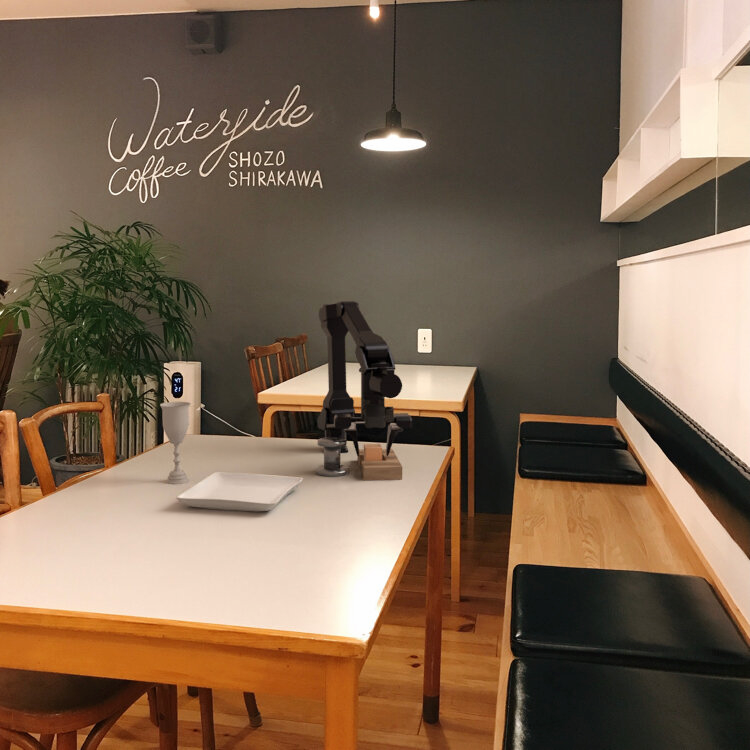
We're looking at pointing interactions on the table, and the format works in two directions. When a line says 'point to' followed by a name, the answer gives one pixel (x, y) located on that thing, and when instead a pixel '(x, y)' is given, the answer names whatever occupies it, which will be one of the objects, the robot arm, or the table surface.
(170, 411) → the chalice
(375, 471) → the notched board
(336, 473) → the bobbin
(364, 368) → the robot arm
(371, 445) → the wooden block
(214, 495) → the salad plate
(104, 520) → the table surface
